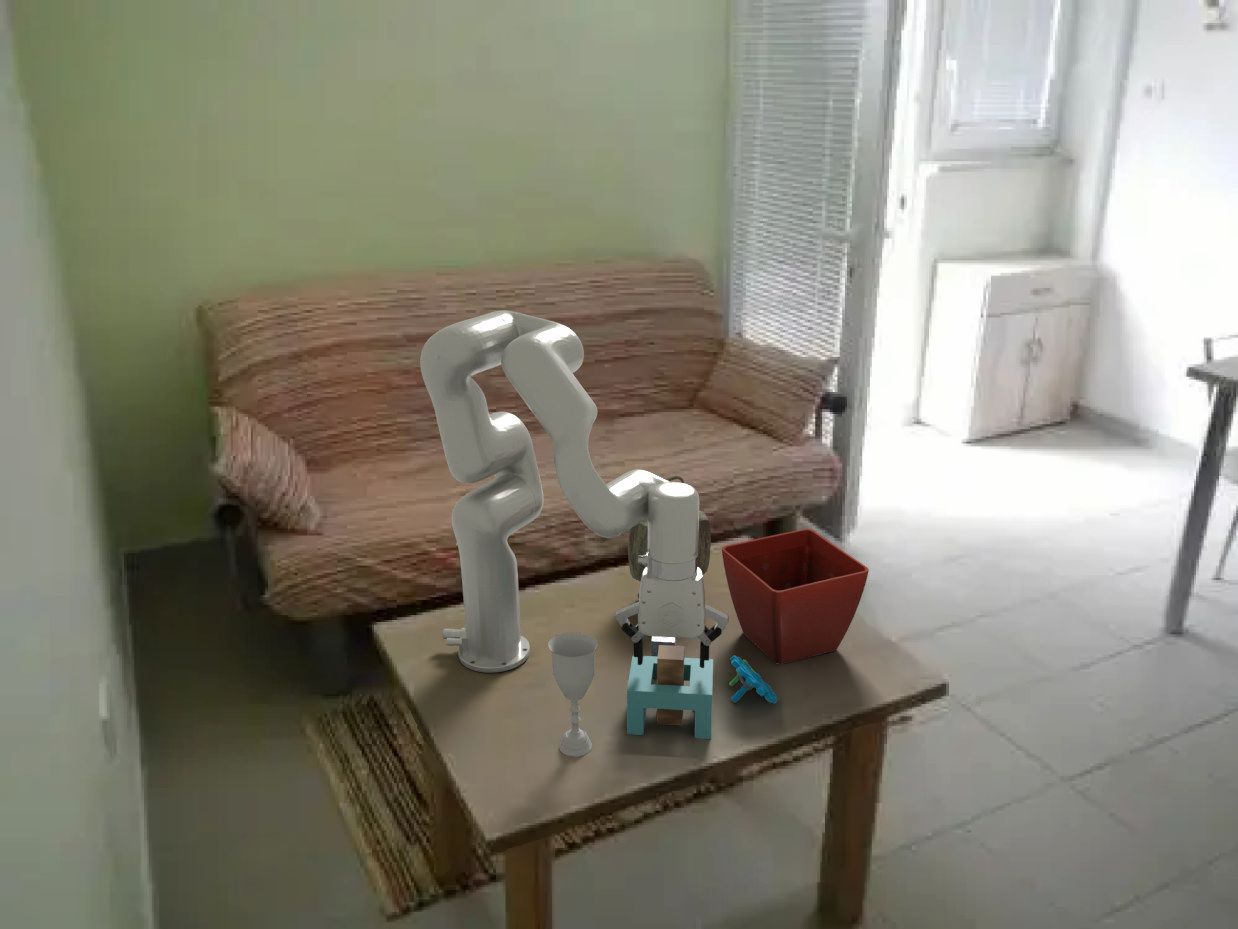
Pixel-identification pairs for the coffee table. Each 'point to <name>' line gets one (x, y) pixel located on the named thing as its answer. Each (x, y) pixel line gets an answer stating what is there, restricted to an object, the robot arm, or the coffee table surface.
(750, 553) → the plant pot
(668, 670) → the walnut pin
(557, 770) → the coffee table surface
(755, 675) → the gear
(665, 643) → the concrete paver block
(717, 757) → the coffee table surface
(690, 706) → the bridge block
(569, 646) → the chalice
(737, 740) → the coffee table surface
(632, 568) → the tabletop clock
